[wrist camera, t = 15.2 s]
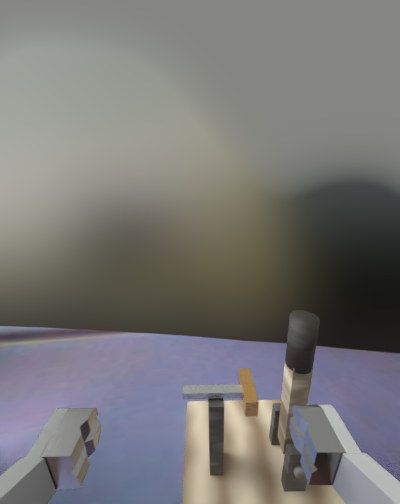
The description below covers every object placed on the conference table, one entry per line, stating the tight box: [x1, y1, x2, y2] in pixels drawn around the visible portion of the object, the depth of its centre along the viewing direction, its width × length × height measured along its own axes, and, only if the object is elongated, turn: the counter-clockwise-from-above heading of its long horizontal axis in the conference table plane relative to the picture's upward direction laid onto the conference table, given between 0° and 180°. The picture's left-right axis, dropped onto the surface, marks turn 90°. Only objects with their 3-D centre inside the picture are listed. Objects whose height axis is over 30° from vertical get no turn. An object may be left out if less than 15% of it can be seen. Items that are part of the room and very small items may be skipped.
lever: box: [277, 310, 320, 454], centre depth 29 cm, size 3×3×22 cm
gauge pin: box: [183, 369, 259, 417], centre depth 29 cm, size 10×5×2 cm, turn 90°
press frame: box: [182, 398, 346, 504], centre depth 31 cm, size 24×20×16 cm
